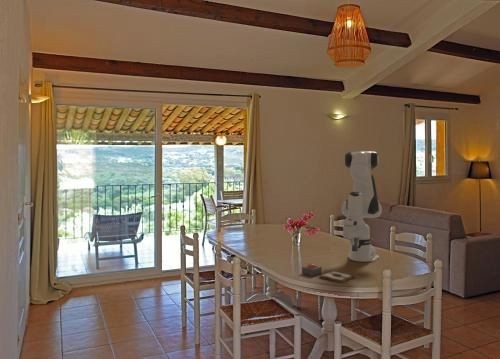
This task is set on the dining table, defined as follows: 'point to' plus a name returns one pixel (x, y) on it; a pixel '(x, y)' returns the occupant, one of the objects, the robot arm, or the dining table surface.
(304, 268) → the button housing
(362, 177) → the robot arm
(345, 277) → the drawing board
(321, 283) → the dining table surface
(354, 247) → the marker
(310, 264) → the button
